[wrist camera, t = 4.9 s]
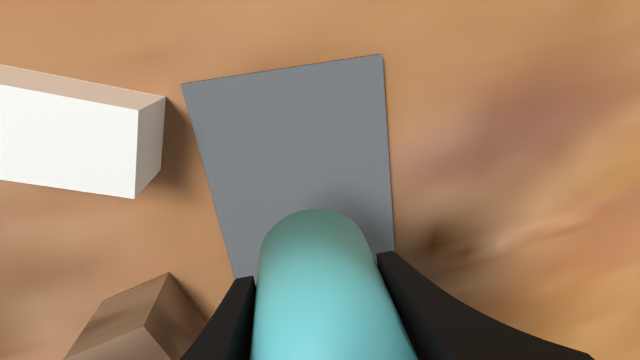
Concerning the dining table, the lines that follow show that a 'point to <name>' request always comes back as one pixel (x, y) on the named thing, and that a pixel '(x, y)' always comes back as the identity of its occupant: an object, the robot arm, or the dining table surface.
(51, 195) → the dining table surface
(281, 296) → the teal capsule
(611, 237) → the dining table surface
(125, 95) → the offwhite brick
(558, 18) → the dining table surface
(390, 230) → the mat
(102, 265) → the dining table surface
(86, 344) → the walnut cube
